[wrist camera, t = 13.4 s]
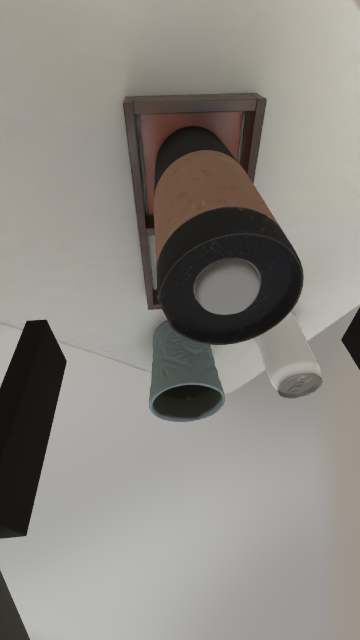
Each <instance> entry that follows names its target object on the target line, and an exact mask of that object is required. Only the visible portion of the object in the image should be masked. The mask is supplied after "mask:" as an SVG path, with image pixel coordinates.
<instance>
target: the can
mask: <svg viewBox="0 0 360 640" xmlns="http://www.w3.org/2000/svg"><path fill="white" fill-rule="evenodd" d="M255 338H256V341H257V344H258V347H259V350H260V353H261V356H262V358H263V361H264V364H265V367H266V370H267V373H268V376H269V379H270V381H271V384H272V385H273V386H274V388H276V389H277V392H278V394H279V395H280V396H282V397H284V398H300V397H304V396H307V395H309V394H311V393H313V392H315V391H316V390H317V389H319V387H320V386H321V384H322V379H321V377H320V373H321V372H320V367H319V365H318V363H317V361H316V359H315V357H314V355H313V353H312V350H311V348H310V346H309V344H308V342H307V340H306V338H305V336H304V334H303V332H302V330H301V328H300V327H299V325H298V323H297V321H296V319H295V317H294V315H293V313H292V312H290V313H289V314H288V315H287V316H286V317H285V318H284V319H283V320H282V321H281V322H280V323H279V324H278V325H276V326H275V327H273V328H272V329H270V330H269V331H267V332H265V333H264V334H262V335H259V336H257V337H255Z"/></svg>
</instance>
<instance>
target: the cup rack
mask: <svg viewBox="0 0 360 640" xmlns="http://www.w3.org/2000/svg"><path fill="white" fill-rule="evenodd" d="M265 106H266V98H264V97H262V96H261V95H259V94H257V93H249V94H248V93H239V94H204V95H169V96H135V97H125V100H124V102H123V107H124V116H125V124H126V132H127V140H128V148H129V156H130V165H131V173H132V181H133V189H134V197H135V206H136V214H137V222H138V230H139V238H140V246H141V255H142V263H143V271H144V279H145V287H146V296H147V304H148V310H152V309H162V308H161V305H160V303H159V301H158V299H157V290H154V289H153V279H152V269H151V258H150V248H149V238H148V235H155V224H154V216H146V208H145V197H144V187H143V177H142V167H141V157H140V147H139V136H138V126H137V116H136V115H140V123H141V134H142V145H143V156H144V167H145V178H146V188H147V199H148V210H149V214H151V213H154V182H155V166H156V159H157V154H158V152H159V149H160V147H161V145H162V144H163V142H164V141H165V140H166V138H167V137H168V136H169V135H171V134H172V133H173V132H175V131H176V130H178V129H180V128H183V127H187V126H199V127H203V128H206V129H208V130H210V131H211V132H213V133H214V134H215V135H216V136H217V137H218V138H219V139H220V140H221V141H222V142H223V144H224V145H225V146H226V147H227V149H228V150H229V151H230V152H231V154H232V155H233V156H234V157H235V159H236V160H237V161H238V152H239V143H240V134H241V126H242V117H243V111H246V117H245V125H244V134H243V142H242V150H241V159H240V165H241V166H242V168H243V169H244V170H245V172H246V174H247V175H248V177H249V178H250V180H251V181H252V183H254V176H255V170H256V163H257V157H258V151H259V144H260V138H261V132H262V125H263V119H264V112H265Z"/></svg>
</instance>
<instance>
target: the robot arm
mask: <svg viewBox="0 0 360 640" xmlns="http://www.w3.org/2000/svg"><path fill="white" fill-rule="evenodd" d="M341 340H342V342H343V344H344V345H345V347H346V348H347V350H348V352H349V353H350V355H351V357H352V358H353V360H354V361H355V363H356V365H357V366H358V368H359V369H360V308H359V310H358V311H357V313H356V315H355V317H354V318H353V320H352V322H351V324H350V325H349V327H348V329H347V331H346V332H345V334H344V336H343V338H342V339H341ZM66 362H67V361H66V359H65V357H64V355H63V353H62V351H61V349H60V347H59V344H58V342H57V340H56V338H55V336H54V334H53V332H52V330H51V328H50V326H49V324H48V322H47V320H34V321H27V322H26V324H25V327H24V329H23V332H22V334H21V337H20V339H19V342H18V344H17V347H16V349H15V352H14V355H13V357H12V359H11V362H10V365H9V367H8V370H7V372H6V375H5V377H4V380H3V382H2V385H1V388H0V538H11V537H21V536H26V535H27V530H28V526H29V522H30V518H31V513H32V509H33V505H34V500H35V496H36V492H37V487H38V483H39V479H40V474H41V470H42V466H43V461H44V457H45V453H46V448H47V444H48V440H49V436H50V431H51V427H52V423H53V418H54V414H55V410H56V405H57V401H58V396H59V392H60V388H61V384H62V379H63V375H64V371H65V366H66ZM0 640H30V638H29V636H28V634H27V632H26V629H25V627H24V624H23V622H22V620H21V618H20V615H19V613H18V611H17V608H16V606H15V604H14V601H13V599H12V597H11V594H10V592H9V590H8V588H7V585H6V583H5V580H4V578H3V576H2V573H1V571H0Z"/></svg>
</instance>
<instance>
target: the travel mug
mask: <svg viewBox="0 0 360 640" xmlns="http://www.w3.org/2000/svg"><path fill="white" fill-rule="evenodd" d="M154 224H155V246H156V268H157V299H158V301H159V303H160V305H161V308H162V310H163V312H164V314H165V316H166V318H167V320H168V322H169V324H170V326H171V328H172V329H173V330H174V331H175V332H176V333H177V334H179V335H181V336H182V337H185V338H187V339H189V340H192V341H195V342H199V343H203V344H210V345H226V344H234V343H239V342H243V341H246V340H250V339H252V338H255V337H257V336H259V335H262V334H264V333H265V332H267V331H269V330H270V329H272V328H273V327H275V326H276V325H278V324H279V323H280V322H281V321H282V320H283V319H284V318H285V317H286V316H287V315H288V314H289V313H290V312H291V310H292V309H293V308H294V306H295V305H296V303H297V301H298V299H299V297H300V294H301V291H302V287H303V269H302V265H301V262H300V260H299V257H298V255H297V253H296V252H295V250H294V248H293V247H292V245H291V243H290V242H289V240H288V239H287V237H286V236H285V234H284V232H283V231H282V229H281V228H280V226H279V224H278V223H277V221H276V220H275V218H274V216H273V215H272V213H271V212H270V210H269V209H268V207H267V205H266V204H265V202H264V201H263V199H262V197H261V196H260V194H259V193H258V191H257V189H256V188H255V186H254V185H253V183H252V181H251V180H250V178H249V177H248V175H247V174H246V172H245V170H244V169H243V168H242V166H241V165H240V164H239V162H238V161H237V160H236V159H235V157H234V156H233V155H232V154H231V152H230V151H229V150H228V149H227V147H226V146H225V145H224V144H223V142H222V141H221V140H220V139H219V138H218V137H217V136H216V135H215V134H214V133H213V132H211V131H210V130H208V129H206V128H203V127H199V126H187V127H183V128H180V129H178V130H176V131H175V132H173V133H172V134H171V135H169V136H168V137H167V138H166V140H165V141H164V142H163V144H162V145H161V147H160V149H159V152H158V154H157V159H156V166H155V182H154Z"/></svg>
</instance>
